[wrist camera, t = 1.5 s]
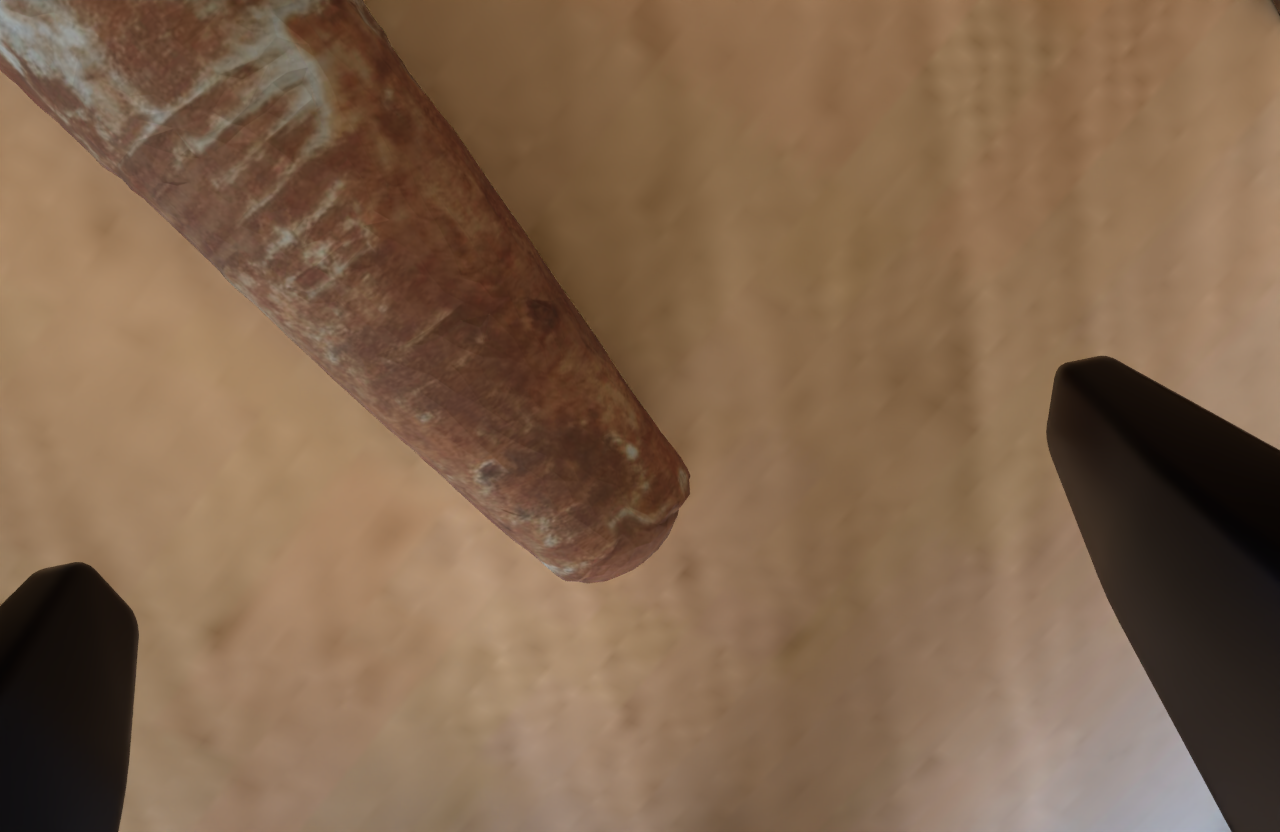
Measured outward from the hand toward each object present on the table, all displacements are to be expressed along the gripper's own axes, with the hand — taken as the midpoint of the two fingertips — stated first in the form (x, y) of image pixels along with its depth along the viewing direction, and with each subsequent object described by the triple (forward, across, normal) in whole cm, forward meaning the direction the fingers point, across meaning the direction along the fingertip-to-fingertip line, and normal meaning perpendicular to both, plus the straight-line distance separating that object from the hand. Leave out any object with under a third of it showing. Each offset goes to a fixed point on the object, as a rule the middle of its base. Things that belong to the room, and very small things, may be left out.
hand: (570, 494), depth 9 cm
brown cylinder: (+14, +4, +4) cm, 15 cm away
